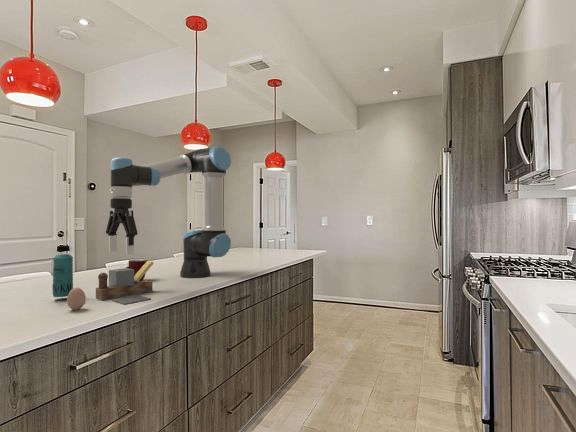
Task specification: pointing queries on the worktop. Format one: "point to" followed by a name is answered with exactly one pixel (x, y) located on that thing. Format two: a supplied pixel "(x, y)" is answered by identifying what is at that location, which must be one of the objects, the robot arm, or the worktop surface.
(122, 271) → the grey block
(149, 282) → the plane body
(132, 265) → the mug
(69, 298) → the egg
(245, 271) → the worktop surface
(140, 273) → the lever
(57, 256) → the beverage bottle
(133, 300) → the pad
